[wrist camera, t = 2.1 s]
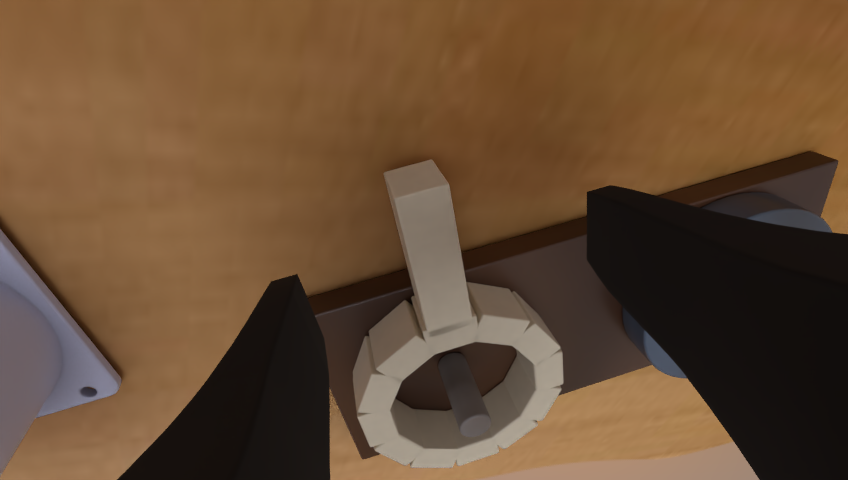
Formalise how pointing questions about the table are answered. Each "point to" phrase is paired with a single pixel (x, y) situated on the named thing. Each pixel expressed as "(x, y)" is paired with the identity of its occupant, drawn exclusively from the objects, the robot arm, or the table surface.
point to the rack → (552, 300)
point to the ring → (447, 339)
